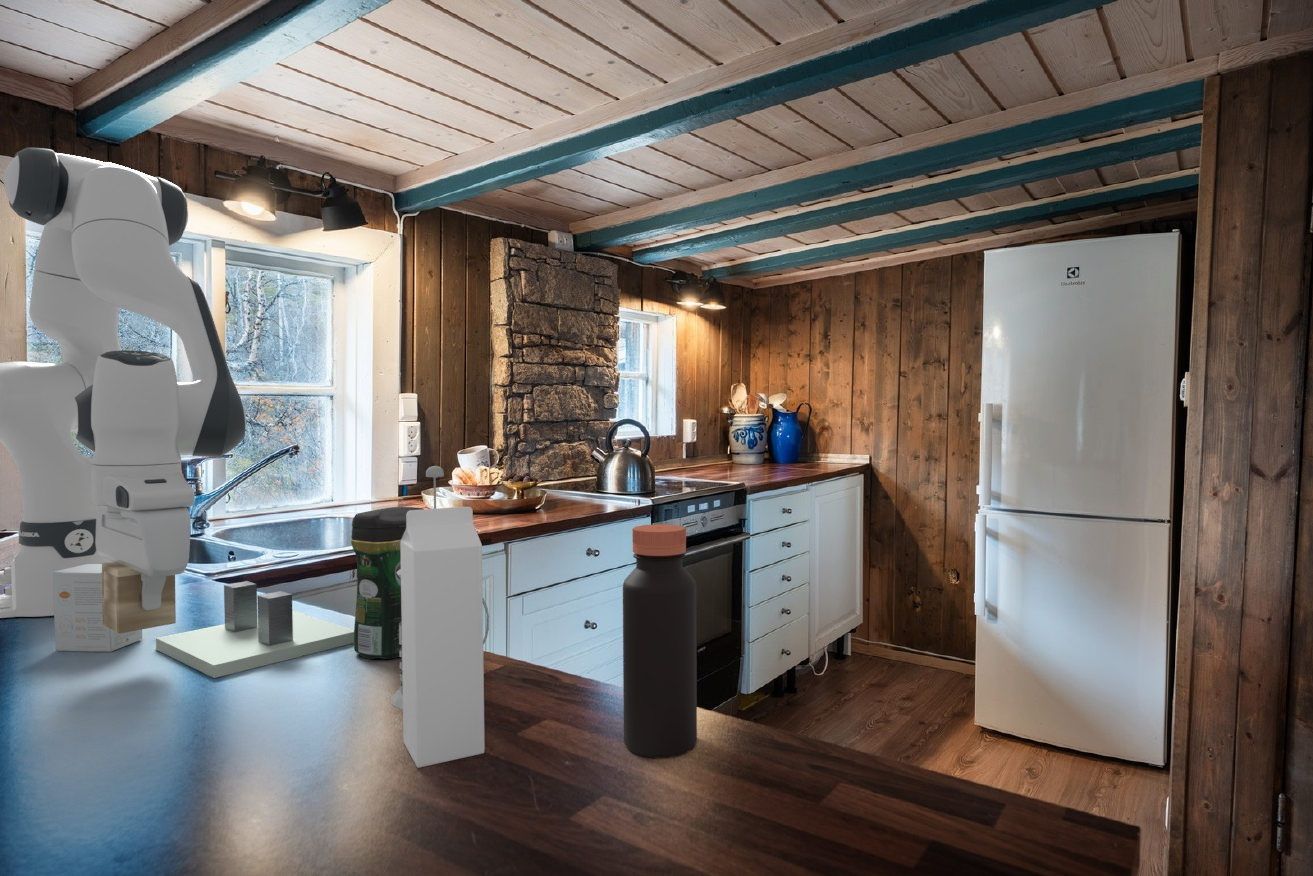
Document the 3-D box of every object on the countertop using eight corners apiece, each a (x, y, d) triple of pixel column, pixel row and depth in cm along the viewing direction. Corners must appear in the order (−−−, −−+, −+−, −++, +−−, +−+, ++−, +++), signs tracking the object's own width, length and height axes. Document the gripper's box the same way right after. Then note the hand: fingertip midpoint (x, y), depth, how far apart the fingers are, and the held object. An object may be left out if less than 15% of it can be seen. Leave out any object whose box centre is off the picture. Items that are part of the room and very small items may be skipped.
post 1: (225, 639, 105) (223, 584, 105) (247, 634, 107) (246, 581, 107) (234, 643, 103) (233, 587, 103) (257, 638, 106) (256, 584, 105)
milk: (485, 754, 69) (483, 510, 68) (416, 769, 66) (413, 514, 66) (466, 729, 75) (464, 502, 74) (401, 743, 72) (399, 506, 71)
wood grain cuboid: (102, 624, 92) (101, 563, 91) (158, 614, 96) (157, 556, 96) (118, 633, 88) (118, 570, 88) (175, 623, 92) (174, 562, 92)
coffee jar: (403, 636, 106) (401, 502, 106) (443, 645, 102) (441, 505, 101) (341, 655, 98) (339, 509, 97) (382, 665, 94) (380, 513, 93)
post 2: (258, 653, 99) (257, 595, 99) (282, 647, 101) (280, 591, 101) (269, 658, 97) (268, 598, 97) (293, 652, 99) (292, 594, 99)
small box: (143, 640, 105) (141, 563, 105) (110, 653, 100) (108, 572, 99) (89, 639, 106) (87, 562, 106) (53, 651, 100) (51, 571, 100)
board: (156, 649, 101) (155, 638, 101) (292, 620, 115) (292, 610, 115) (214, 678, 90) (213, 665, 90) (357, 642, 104) (357, 631, 104)
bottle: (645, 723, 76) (644, 521, 75) (708, 736, 73) (708, 525, 72) (609, 750, 70) (608, 530, 69) (677, 766, 67) (676, 535, 66)
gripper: (79, 483, 95) (81, 593, 96) (136, 496, 83) (138, 624, 83) (138, 479, 100) (139, 585, 101) (201, 492, 87) (202, 612, 88)
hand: (139, 603), depth 92 cm, fingers closed on wood grain cuboid, 6 cm apart
